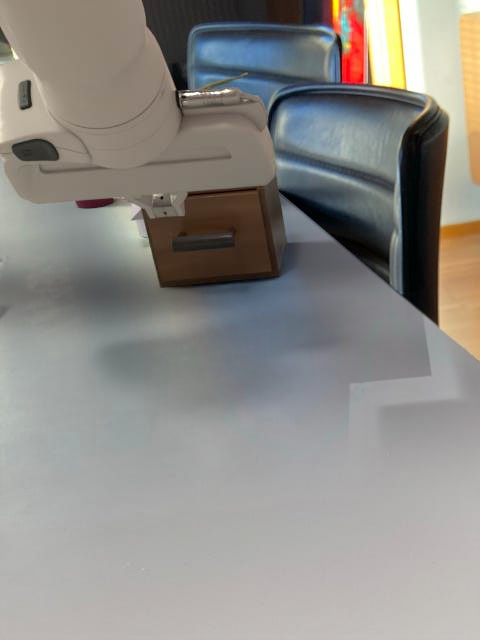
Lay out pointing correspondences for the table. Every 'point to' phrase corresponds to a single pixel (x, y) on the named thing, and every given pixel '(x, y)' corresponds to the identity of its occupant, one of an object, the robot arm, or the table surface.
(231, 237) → the drawer
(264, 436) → the table surface
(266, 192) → the cabinet
